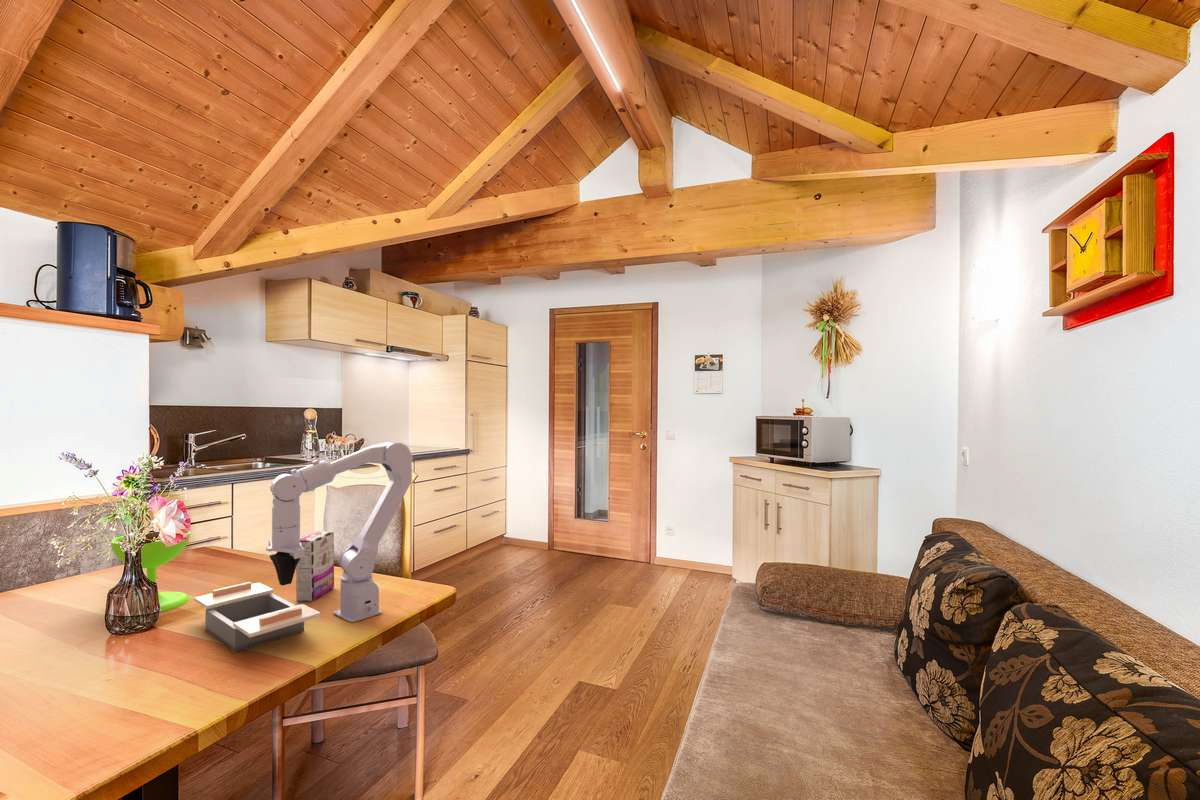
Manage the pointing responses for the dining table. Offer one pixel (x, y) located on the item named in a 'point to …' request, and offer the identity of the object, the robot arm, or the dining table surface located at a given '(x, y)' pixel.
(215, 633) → the box
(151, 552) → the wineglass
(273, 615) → the lid
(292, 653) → the dining table surface
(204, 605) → the lid
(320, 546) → the candy bar box
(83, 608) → the dining table surface
